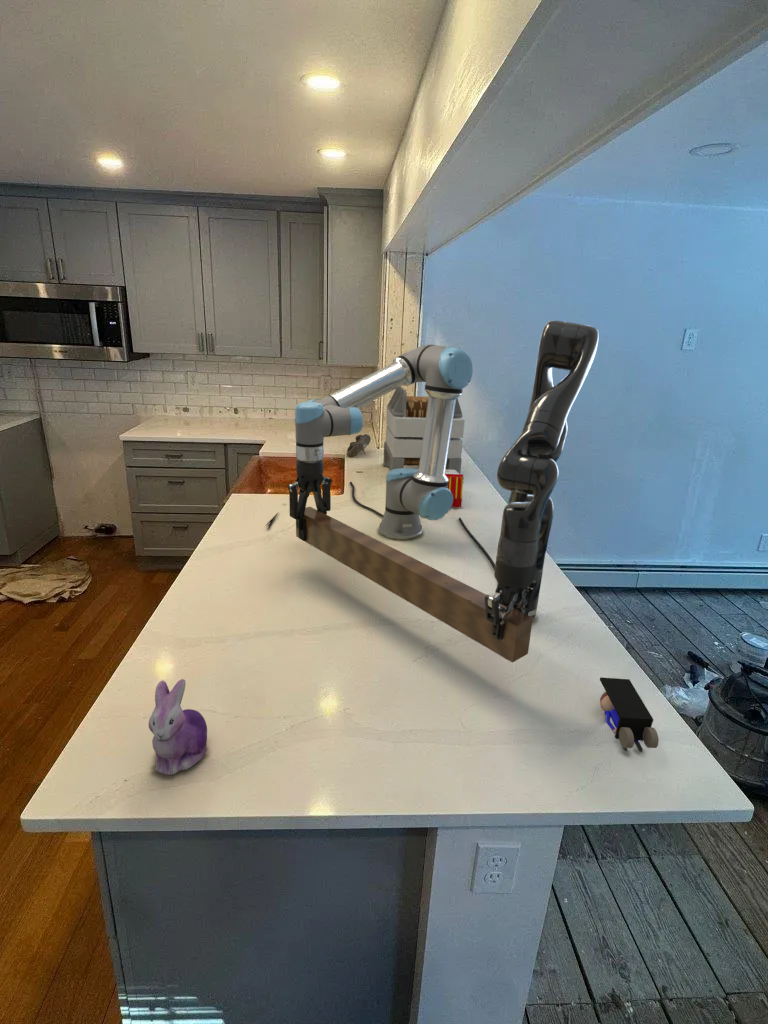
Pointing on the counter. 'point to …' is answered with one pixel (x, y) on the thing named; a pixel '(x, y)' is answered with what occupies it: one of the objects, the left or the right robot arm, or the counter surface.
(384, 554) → the beam
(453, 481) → the red striped box
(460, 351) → the left robot arm
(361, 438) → the fossil
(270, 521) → the feather
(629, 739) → the figurine character
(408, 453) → the transformer
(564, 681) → the counter surface
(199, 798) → the counter surface
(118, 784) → the counter surface
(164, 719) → the figurine
